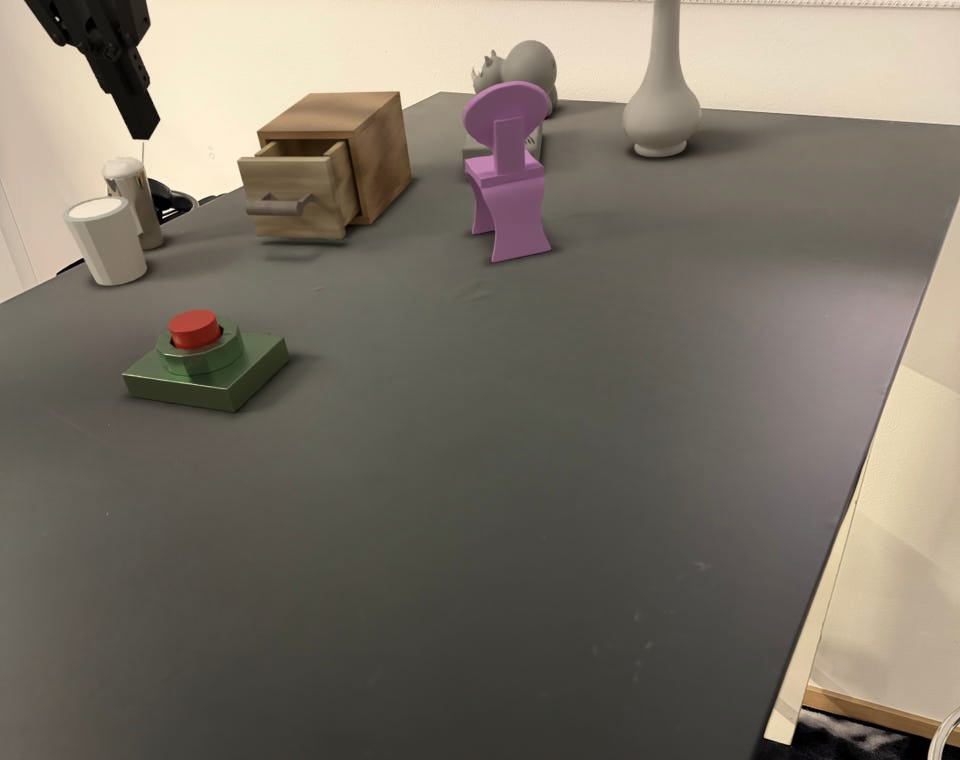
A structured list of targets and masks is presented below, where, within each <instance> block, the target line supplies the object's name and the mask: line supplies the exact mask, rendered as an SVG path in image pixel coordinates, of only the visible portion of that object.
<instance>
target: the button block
mask: <svg viewBox="0 0 960 760" xmlns="http://www.w3.org/2000/svg"><path fill="white" fill-rule="evenodd" d="M216 319H217V322H218V325H219V328H220V331H221V337H220V338H218V339H217V340H216V341H215V342H212V343H210V344H207V345H205V346H203V347H199V348H192V349H180V348H177V347H176V346H175V344H174V342H173V339H172V336H171V334H170V331H169V328H168V329H166V330H165V331H164V332H162V333H161V334H160V335H158V337H157V340H156V344H155V346H154V347H153V348H152V349H151V350H150V351H148V352H147V353H146V354H144V356H142V357H141V358H140V359H138V360H137V361H136V362H135V363H133V364H132V365H131V366H129V367H128V368H127V369H126V370H125V371H123V372H122V373H121V376H122V378H123V381H124V383H125V385H126V386H125V387H126V388H127V390H128V393H129V395H130V397H132V398H137V399H138V398H140V399H146V400H153V401H157V402H164V403H171V404H178V405H182V406H183V405H185V406H191V407H196V408H204V409H210V410H217V411H223V412H228V413H229V412H230V413H236V412H237V411H238V410H239V409H241V407H242V406H243V405H245V403H246V402H248V401H249V399H251V397H252V396H254V395H255V394H256V393H257V392H258V391H259V390H260V389H261V388H262V387H263V386H264V385H265V384H266V383H268V381H269V380H270V379H272V377H274V375H276V374H277V373H278V372H279V371H280V370H281V369H282V368H283V367H284V366H285V365H286V364H287V363H288V362H289V361H291V358H290V353H289V351H288V346H287V343H286V338H285V337H284V336H281V335H274V334H273V335H272V334H264V333H256V332H246V331H240V328H239V325H238V324H237V323H236V322H235V321H234V320H232V319H231V318H229V317H223V316H216Z"/></svg>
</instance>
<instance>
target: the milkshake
mask: <svg viewBox="0 0 960 760" xmlns="http://www.w3.org/2000/svg"><path fill="white" fill-rule="evenodd" d="M144 155H145V142H144V141H143V142H142V147H141V160H139V159H138V158H135V157H133V156H118V157H115V158H113V159H110V160H107V161H106V162H104V163H103V166H102V168H101V175H102V178H103V181H104V182H105V184H106V186H107V188H108V190H109V192H110V194H111V196H119V197H124V198H126V199H127V200H128V201H129V205H130V209H131V212H132V216H133V219H134V223H135V227H136V230H137V234H138V237H139V241H140V245H141V248H142V251H150V250H153V249H156V248H158V247H161V246H162V245H164V242H165V241H164V240H165V239H164V236H163V233H162V228H161V225H160V221H159V218H158V215H157V214H158V213H157V210H156V207H155V204H154V203H155V202H154V199H153V196H152V192H151V188H150V184H149V180H148V175H147V172H146V168H145V164H144V159H145V156H144Z"/></svg>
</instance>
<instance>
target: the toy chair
mask: <svg viewBox="0 0 960 760" xmlns="http://www.w3.org/2000/svg"><path fill="white" fill-rule="evenodd" d="M547 112H548V99H547V95H546V93H545V92H544V90H543V89H542V88H540V87H539V86H537V85H535V84H532V83H529V82H524V81H511V82H506V83H501V84H497V85H494V86H491V87H489V88H487V89H485V90H483V91H482V92H480V93H479V94H475V95H474V96H473V97H472V98H471V99H469V101H468V102H467V103H466V104H465V105H464V107H463V110H462V113H461V119H462V124H463V126H464V128H465V131H466V133H467V132H468V134H469V135H470V136H471V137H473V138H474V139H475V140H476V141H477V142H478V143H480V144H483V145H485V146H487V147H488V148H490V149H491V150H492V151H493V155H491V156H483V157H475V158H470V159H465V160H464V161H465V173H464V175H465V174H466V176H465V177H466V179H467V181H468V183H469V185H470V188H471V190H472V193H473V197H474V207H475V208H474V218H473V224H472V229H471V234H472V235H477V234H484V233H488V232H493V231H495V232H494V233H495V235H494V245H493V251H492V255H491V262H492V263H498V262H503V261H508V260H512V259H516V258H521V257H525V256H531V255H534V254H535V255H536V254H539V253H540V254H541V253H546V252H550V251H551V250H552V247H551V245H550V242H549V241H548V238H547V236H546V234H545V231H544V228H543V225H542V220H541V208H542V207H541V206H542V200H543V196H544V193H545V188H546V187H545V186H546V179H545V169H544V165H542V163H541V162H540V161H539V162H538V161H536V160H535V159H534V158H533V157H532V156H531V155H530V153H529V152H528V151H527V150H526V149H525V140H526V138H527V137H528V136H529V135H530V134H531V133H532V132H533V131H534V130H535V129H536V128H537V127H538V126H539V125H540V124H541V123H542V124H543V121H545V119H546V117H547V116H546V115H547Z"/></svg>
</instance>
